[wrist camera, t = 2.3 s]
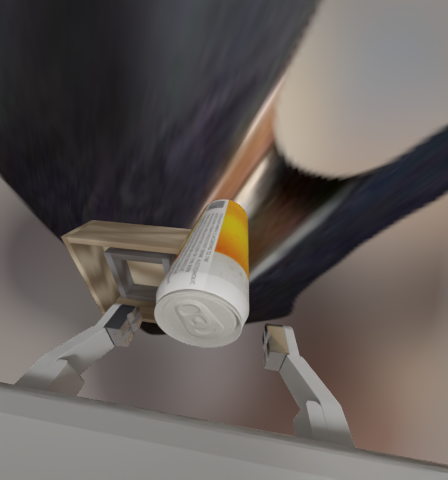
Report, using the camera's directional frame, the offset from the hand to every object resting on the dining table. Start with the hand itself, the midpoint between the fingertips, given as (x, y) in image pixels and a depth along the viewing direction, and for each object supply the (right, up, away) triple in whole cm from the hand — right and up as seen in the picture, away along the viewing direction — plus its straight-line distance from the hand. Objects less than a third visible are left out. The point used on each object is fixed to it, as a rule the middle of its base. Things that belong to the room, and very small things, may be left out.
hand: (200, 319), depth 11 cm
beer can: (+2, +8, +12) cm, 15 cm away
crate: (-11, 0, +18) cm, 21 cm away
